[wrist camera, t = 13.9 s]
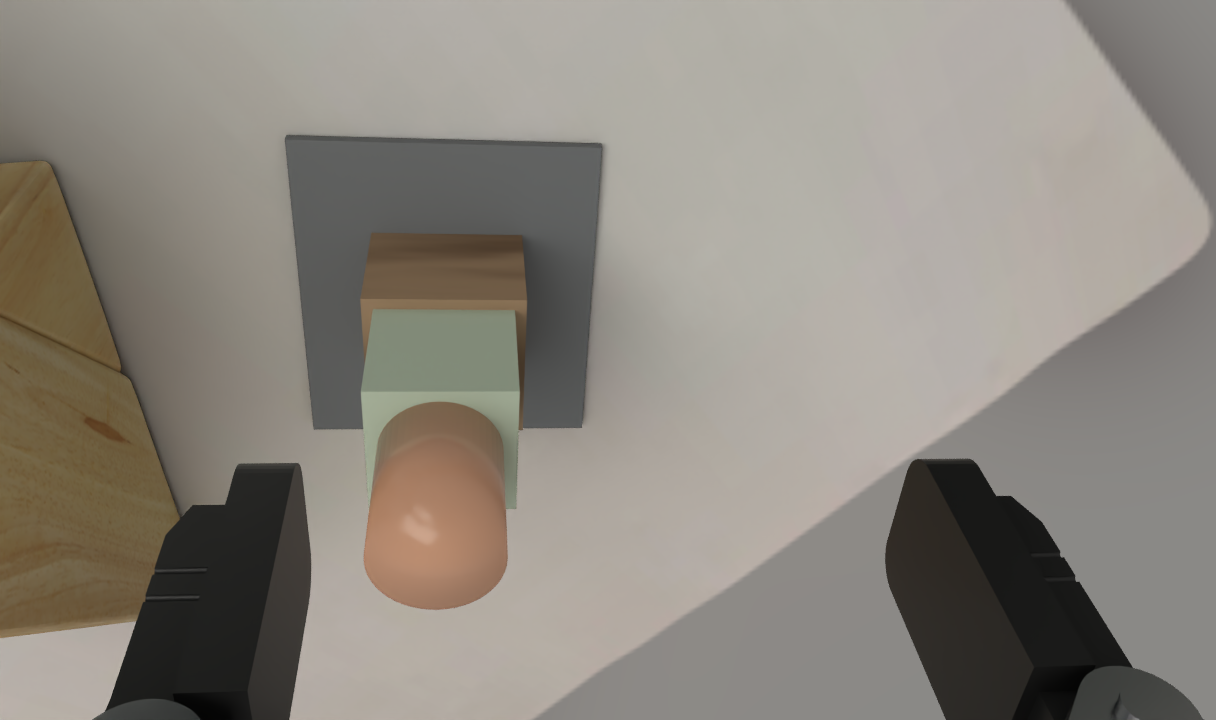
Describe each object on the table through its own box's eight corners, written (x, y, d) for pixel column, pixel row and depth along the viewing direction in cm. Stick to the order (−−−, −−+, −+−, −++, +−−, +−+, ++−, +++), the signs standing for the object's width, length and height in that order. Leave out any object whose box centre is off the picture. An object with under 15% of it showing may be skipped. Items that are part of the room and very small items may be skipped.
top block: (372, 309, 46) (360, 391, 41) (514, 310, 47) (519, 391, 42) (379, 422, 50) (368, 511, 45) (511, 421, 50) (516, 508, 46)
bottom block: (371, 232, 51) (360, 298, 46) (522, 235, 52) (527, 300, 47) (378, 357, 55) (368, 430, 50) (518, 357, 56) (522, 429, 51)
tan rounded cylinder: (373, 401, 42) (359, 507, 37) (504, 401, 42) (508, 504, 37) (379, 501, 45) (367, 611, 40) (503, 499, 45) (506, 607, 40)
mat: (286, 135, 49) (285, 139, 48) (601, 143, 50) (601, 148, 50) (314, 423, 57) (313, 429, 57) (581, 422, 59) (582, 427, 59)
